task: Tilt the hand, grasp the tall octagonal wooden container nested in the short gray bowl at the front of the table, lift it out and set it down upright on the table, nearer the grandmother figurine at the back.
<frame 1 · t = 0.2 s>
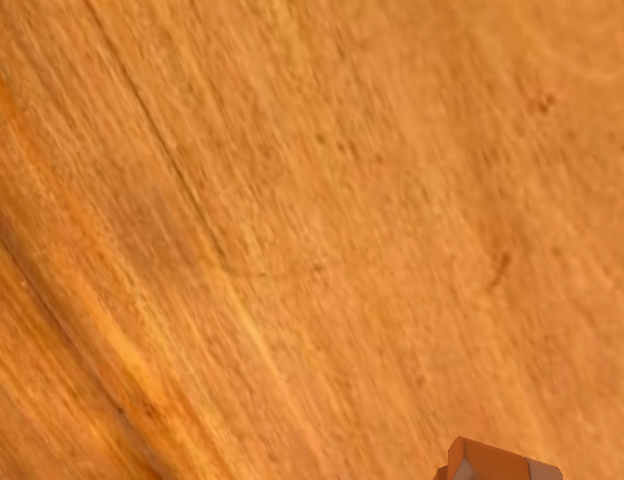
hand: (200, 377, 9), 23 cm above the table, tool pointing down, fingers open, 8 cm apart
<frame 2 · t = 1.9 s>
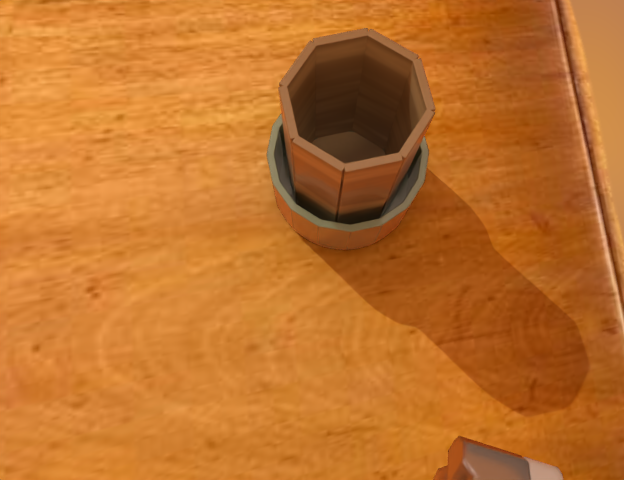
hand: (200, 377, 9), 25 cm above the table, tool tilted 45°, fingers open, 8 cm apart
gray bowl: (343, 182, 37), on the table, touching octagonal wooden container
octagonal wooden container: (343, 179, 36), resting on gray bowl
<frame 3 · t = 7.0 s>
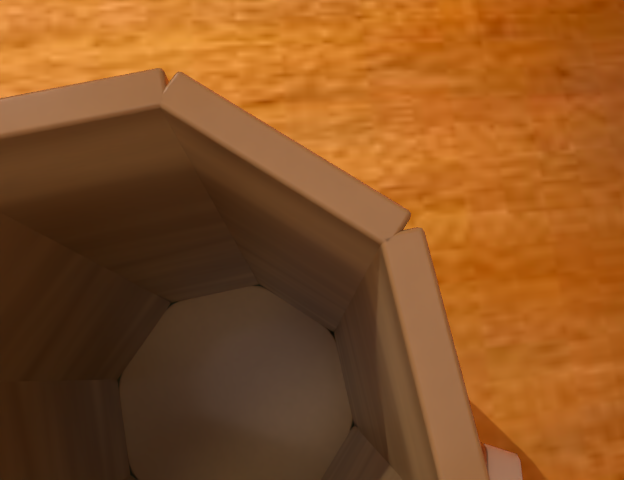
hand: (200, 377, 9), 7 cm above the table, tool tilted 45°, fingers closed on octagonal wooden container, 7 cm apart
octagonal wooden container: (237, 401, 15), resting on gray bowl, touching gripper
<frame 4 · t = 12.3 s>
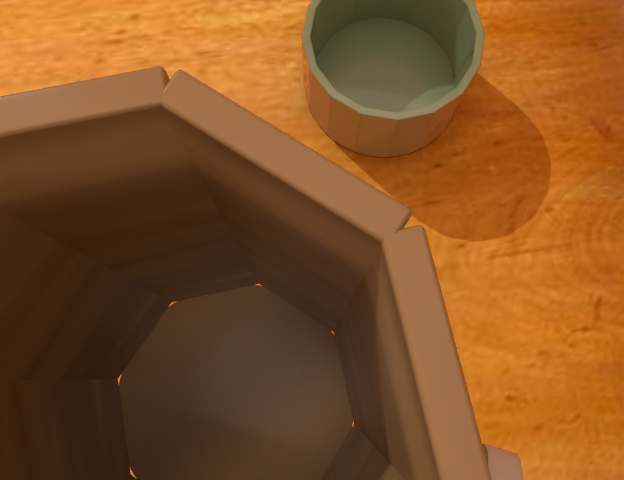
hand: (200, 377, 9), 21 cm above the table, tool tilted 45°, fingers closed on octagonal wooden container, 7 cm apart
gray bowl: (381, 85, 33), on the table
octagonal wooden container: (237, 400, 15), point 14 cm above the table, touching gripper
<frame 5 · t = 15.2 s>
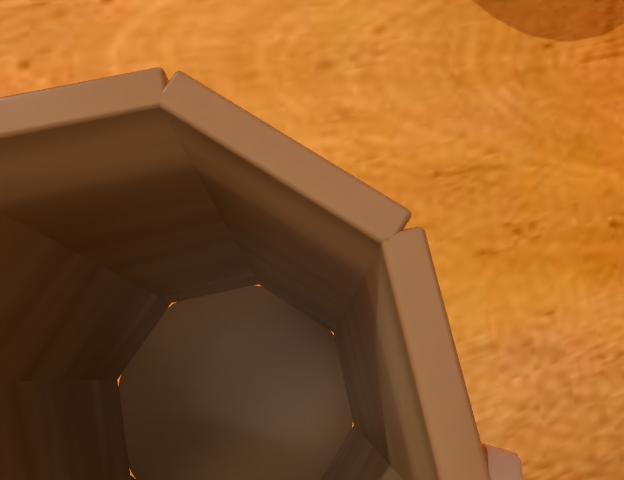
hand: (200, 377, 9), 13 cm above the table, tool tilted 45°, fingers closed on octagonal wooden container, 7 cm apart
octagonal wooden container: (237, 401, 15), point 7 cm above the table, touching gripper
when the fingers open (6 cm above the table, at t = 17.7 s): octagonal wooden container stays where it is, on the table.
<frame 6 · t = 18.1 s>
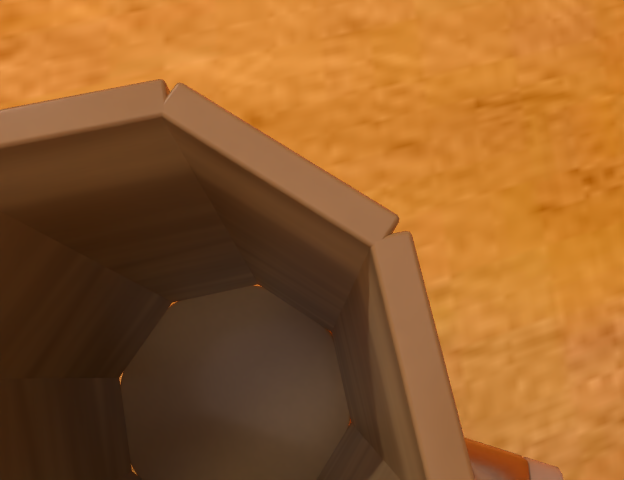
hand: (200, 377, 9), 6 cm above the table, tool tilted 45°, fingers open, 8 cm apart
octagonal wooden container: (236, 399, 16), on the table
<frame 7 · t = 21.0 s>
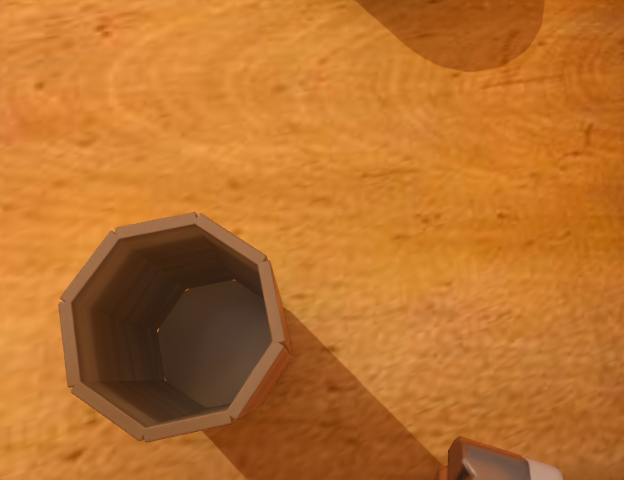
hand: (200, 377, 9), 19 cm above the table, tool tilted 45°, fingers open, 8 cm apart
octagonal wooden container: (221, 343, 28), on the table
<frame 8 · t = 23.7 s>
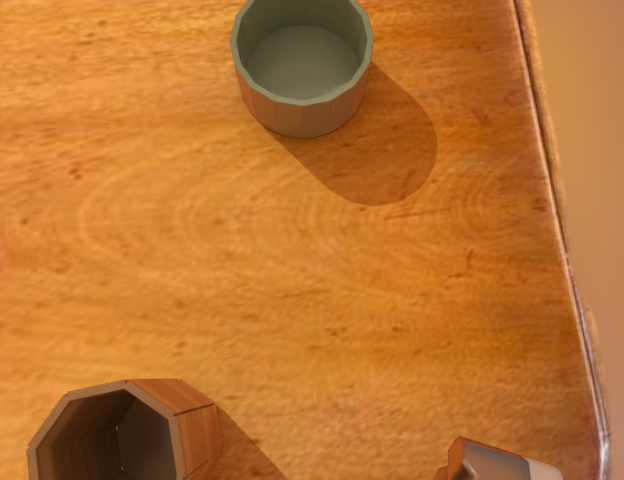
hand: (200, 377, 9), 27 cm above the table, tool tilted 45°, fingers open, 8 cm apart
gray bowl: (303, 80, 41), on the table
octagonal wooden container: (168, 436, 35), on the table
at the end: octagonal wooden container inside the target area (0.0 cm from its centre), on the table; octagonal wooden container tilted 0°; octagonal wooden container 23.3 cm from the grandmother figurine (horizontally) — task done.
